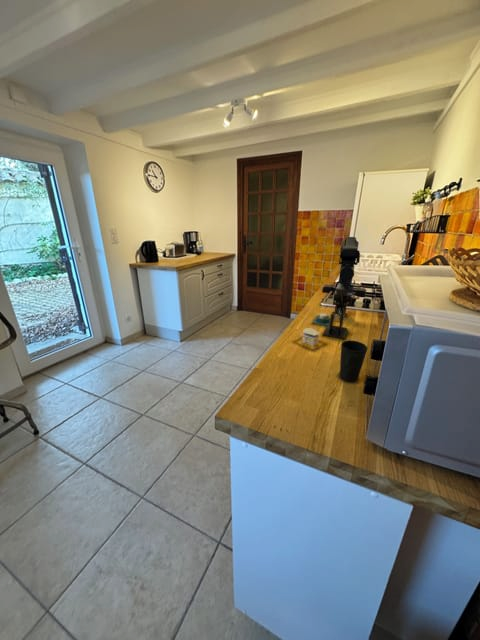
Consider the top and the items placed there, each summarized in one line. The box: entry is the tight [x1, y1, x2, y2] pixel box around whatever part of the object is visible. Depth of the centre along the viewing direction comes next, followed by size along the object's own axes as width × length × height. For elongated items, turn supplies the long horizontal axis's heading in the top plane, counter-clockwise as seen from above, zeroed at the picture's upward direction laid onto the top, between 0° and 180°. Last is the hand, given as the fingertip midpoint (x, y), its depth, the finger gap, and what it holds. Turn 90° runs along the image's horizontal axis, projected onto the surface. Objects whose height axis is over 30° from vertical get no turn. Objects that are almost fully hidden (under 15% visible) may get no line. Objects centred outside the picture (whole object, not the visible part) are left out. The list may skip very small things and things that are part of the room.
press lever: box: [334, 308, 344, 322], centre depth 118 cm, size 13×3×3 cm, turn 151°
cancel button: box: [319, 313, 328, 319], centre depth 129 cm, size 4×4×2 cm
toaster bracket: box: [322, 311, 349, 341], centre depth 115 cm, size 12×9×10 cm
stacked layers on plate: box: [301, 327, 320, 347], centre depth 108 cm, size 10×9×6 cm
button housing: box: [312, 314, 331, 327], centre depth 129 cm, size 10×8×3 cm
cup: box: [339, 340, 368, 383], centre depth 83 cm, size 8×8×12 cm
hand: (341, 307), depth 122 cm, fingers closed
